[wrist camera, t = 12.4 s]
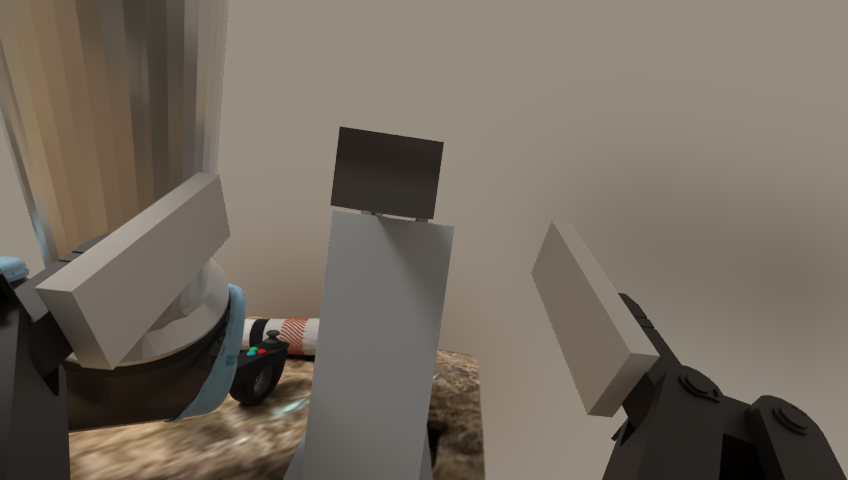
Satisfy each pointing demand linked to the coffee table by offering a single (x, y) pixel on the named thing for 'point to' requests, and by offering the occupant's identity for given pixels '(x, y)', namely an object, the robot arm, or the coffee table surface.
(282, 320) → the black white tapered cylinder
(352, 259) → the post
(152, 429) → the coffee table surface
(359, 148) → the bar
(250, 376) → the controller
